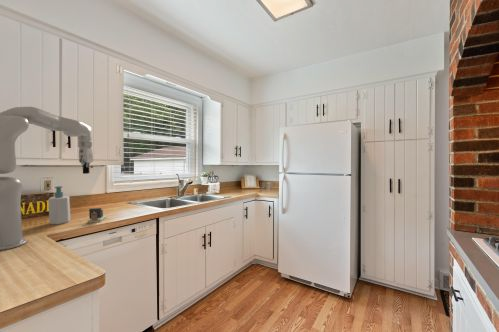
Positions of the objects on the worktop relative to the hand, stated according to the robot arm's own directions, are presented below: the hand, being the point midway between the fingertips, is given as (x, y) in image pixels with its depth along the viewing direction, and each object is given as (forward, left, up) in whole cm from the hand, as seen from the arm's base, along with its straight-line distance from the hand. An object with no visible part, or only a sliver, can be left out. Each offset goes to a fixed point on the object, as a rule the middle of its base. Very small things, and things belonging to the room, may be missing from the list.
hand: (86, 173), depth 155 cm
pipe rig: (+9, -8, -29) cm, 31 cm away
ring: (+8, -11, -27) cm, 30 cm away
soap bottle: (-12, -8, -29) cm, 33 cm away
